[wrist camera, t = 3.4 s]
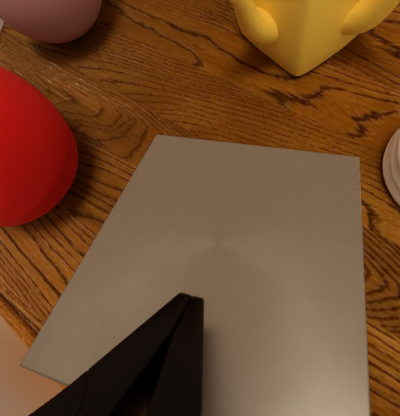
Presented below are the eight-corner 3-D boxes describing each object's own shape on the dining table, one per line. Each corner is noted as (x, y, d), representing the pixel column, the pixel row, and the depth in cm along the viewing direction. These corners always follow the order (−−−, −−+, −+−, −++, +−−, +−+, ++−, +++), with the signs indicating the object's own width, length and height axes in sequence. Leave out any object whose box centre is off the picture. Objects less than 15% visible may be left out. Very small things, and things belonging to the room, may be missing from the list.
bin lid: (363, 506, 7) (376, 516, 7) (31, 368, 10) (18, 366, 10) (354, 167, 15) (359, 156, 14) (159, 143, 18) (156, 133, 17)
